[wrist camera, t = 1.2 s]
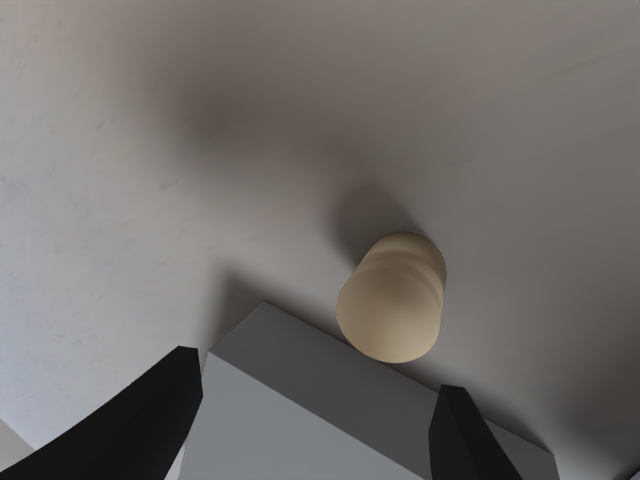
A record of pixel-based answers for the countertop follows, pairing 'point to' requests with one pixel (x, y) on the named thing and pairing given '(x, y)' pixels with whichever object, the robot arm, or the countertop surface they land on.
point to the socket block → (316, 412)
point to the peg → (394, 299)
